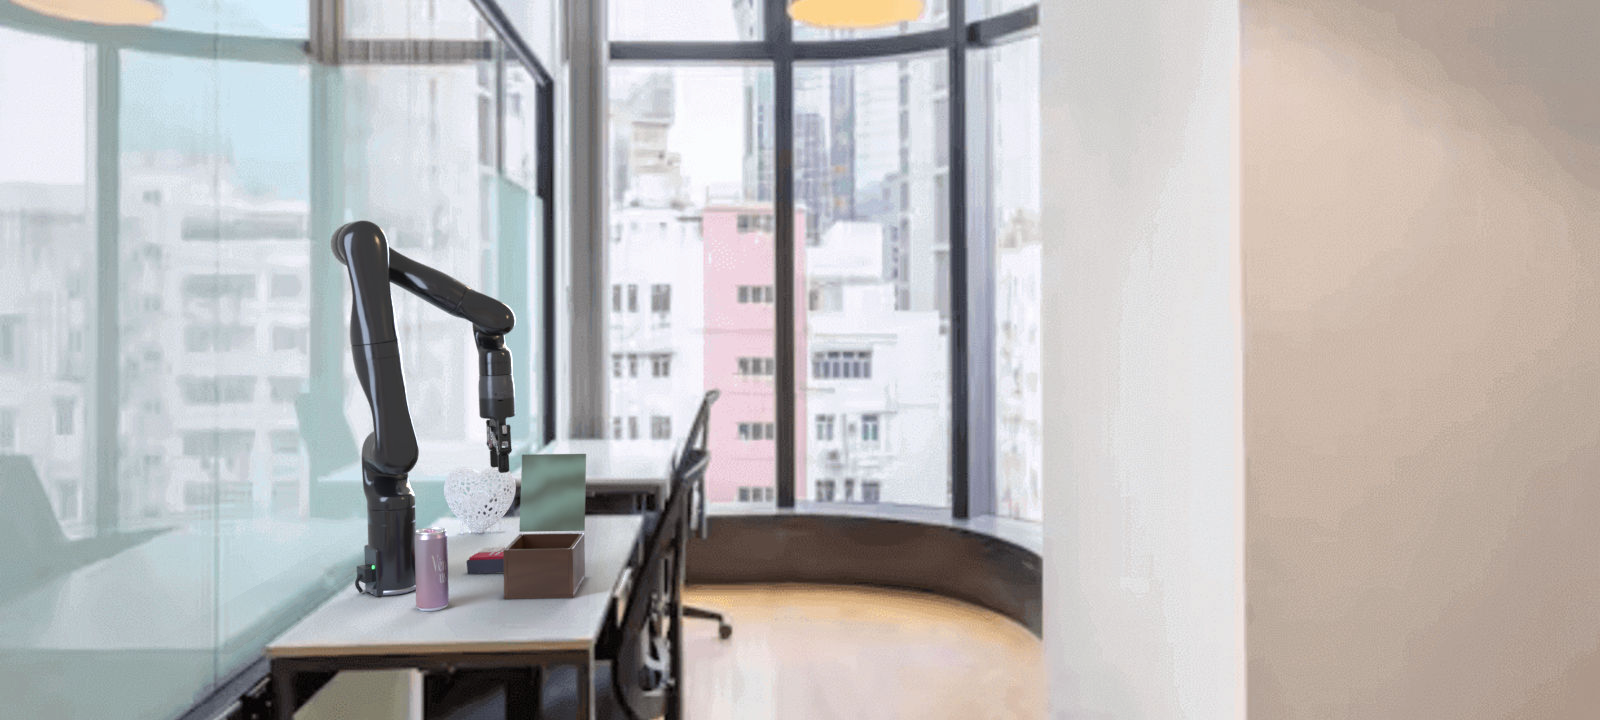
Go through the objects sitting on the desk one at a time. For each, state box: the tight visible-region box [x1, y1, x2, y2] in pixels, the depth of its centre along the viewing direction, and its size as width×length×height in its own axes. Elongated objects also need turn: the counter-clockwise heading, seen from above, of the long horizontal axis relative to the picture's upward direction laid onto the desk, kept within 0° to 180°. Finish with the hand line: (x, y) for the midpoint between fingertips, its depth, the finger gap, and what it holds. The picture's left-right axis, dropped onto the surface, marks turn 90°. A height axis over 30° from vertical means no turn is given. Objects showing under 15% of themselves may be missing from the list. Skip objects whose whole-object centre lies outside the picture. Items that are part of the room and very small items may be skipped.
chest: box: [503, 532, 586, 600], centre depth 220 cm, size 16×14×10 cm
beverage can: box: [415, 527, 450, 612], centre depth 206 cm, size 6×6×15 cm
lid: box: [518, 453, 587, 533], centre depth 229 cm, size 16×14×1 cm
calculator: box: [466, 546, 506, 575], centre depth 237 cm, size 11×4×15 cm
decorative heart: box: [443, 466, 517, 535], centre depth 275 cm, size 18×11×17 cm, turn 94°
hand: (499, 469), depth 232 cm, fingers open, 8 cm apart
